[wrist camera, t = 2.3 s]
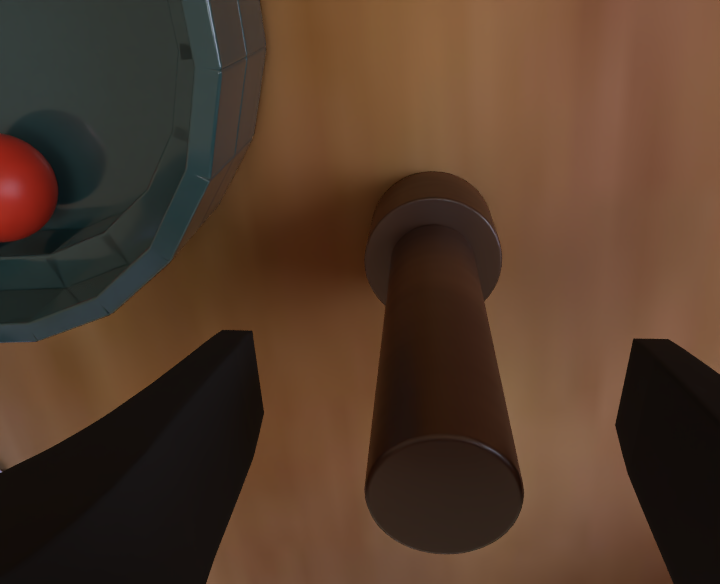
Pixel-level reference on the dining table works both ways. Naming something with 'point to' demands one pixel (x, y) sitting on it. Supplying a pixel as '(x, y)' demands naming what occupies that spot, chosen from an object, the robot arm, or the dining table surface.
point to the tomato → (24, 189)
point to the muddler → (438, 372)
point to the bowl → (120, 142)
